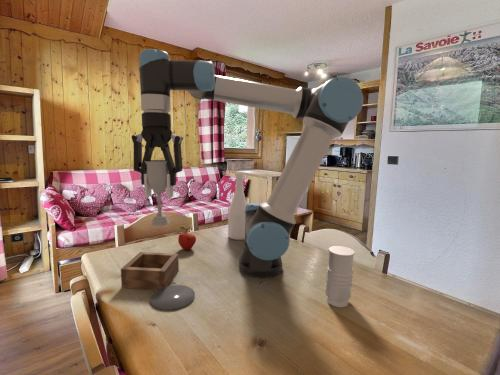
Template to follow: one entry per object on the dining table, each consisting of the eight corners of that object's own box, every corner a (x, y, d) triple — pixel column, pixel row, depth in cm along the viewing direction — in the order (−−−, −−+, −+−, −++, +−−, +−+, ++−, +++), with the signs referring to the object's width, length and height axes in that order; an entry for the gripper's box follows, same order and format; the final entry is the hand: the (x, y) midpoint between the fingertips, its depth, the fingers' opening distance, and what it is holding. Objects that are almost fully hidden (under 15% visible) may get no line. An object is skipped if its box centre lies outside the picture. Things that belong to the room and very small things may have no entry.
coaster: (199, 287, 85) (199, 286, 85) (188, 311, 74) (188, 309, 73) (159, 285, 86) (159, 283, 86) (142, 308, 74) (142, 306, 74)
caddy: (178, 270, 96) (178, 253, 95) (165, 290, 83) (164, 271, 82) (140, 268, 97) (140, 251, 96) (121, 288, 84) (120, 269, 83)
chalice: (164, 227, 78) (161, 162, 75) (142, 225, 80) (139, 161, 77) (177, 220, 85) (175, 160, 82) (156, 219, 87) (154, 159, 84)
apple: (187, 245, 120) (187, 222, 118) (199, 249, 116) (199, 225, 114) (173, 250, 113) (172, 226, 112) (184, 254, 110) (184, 229, 108)
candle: (319, 297, 82) (323, 247, 80) (338, 292, 85) (342, 244, 82) (335, 310, 76) (339, 256, 73) (355, 305, 79) (360, 253, 76)
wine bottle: (225, 239, 128) (226, 172, 123) (230, 232, 137) (231, 170, 132) (246, 241, 126) (248, 173, 121) (250, 234, 135) (252, 171, 130)
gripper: (194, 114, 80) (195, 195, 84) (129, 113, 82) (134, 193, 85) (185, 111, 73) (187, 200, 76) (115, 110, 74) (120, 198, 78)
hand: (159, 196), depth 81 cm, fingers closed on chalice, 6 cm apart
